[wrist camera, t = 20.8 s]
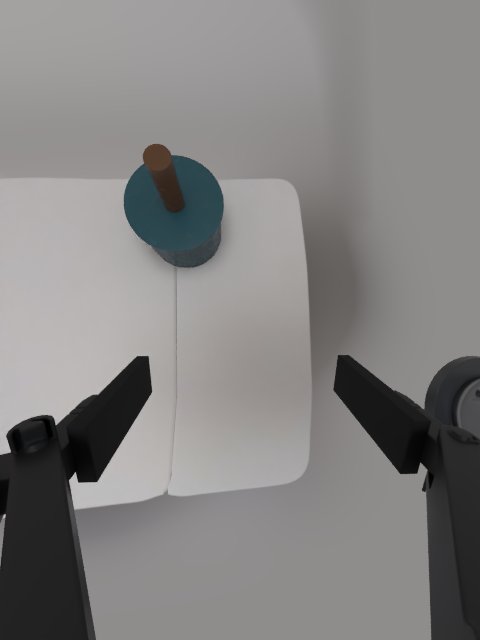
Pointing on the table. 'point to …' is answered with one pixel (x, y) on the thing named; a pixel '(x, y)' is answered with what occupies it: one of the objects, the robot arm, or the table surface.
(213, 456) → the table surface
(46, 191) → the table surface
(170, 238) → the lid
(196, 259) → the pot
